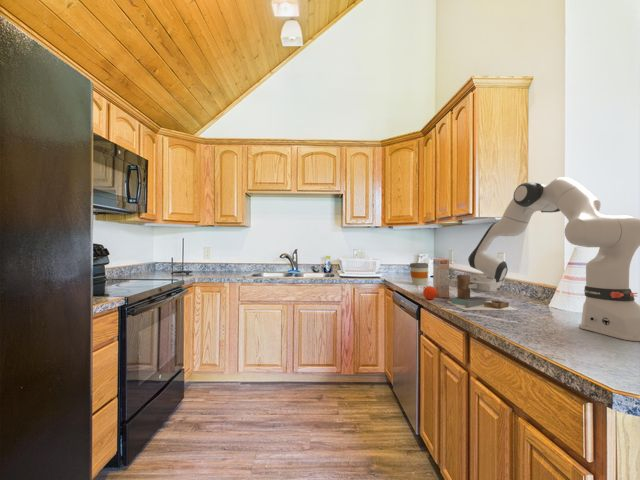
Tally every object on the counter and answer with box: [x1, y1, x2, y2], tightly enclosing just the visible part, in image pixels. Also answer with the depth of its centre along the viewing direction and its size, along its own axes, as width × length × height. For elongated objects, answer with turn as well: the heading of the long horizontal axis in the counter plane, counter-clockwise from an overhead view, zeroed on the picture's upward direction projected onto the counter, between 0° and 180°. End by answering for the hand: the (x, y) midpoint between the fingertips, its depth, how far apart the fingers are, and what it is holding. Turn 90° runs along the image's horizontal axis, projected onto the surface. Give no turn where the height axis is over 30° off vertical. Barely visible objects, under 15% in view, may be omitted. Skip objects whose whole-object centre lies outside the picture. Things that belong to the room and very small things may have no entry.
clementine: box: [422, 285, 437, 301], centre depth 168 cm, size 8×7×7 cm
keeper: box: [484, 300, 510, 309], centre depth 143 cm, size 7×8×2 cm
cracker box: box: [432, 257, 450, 299], centre depth 178 cm, size 14×6×21 cm, turn 171°
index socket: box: [451, 296, 477, 305], centre depth 151 cm, size 8×8×2 cm
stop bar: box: [456, 274, 471, 300], centre depth 151 cm, size 4×4×12 cm
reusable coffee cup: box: [409, 262, 429, 286], centre depth 228 cm, size 13×13×15 cm
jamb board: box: [446, 298, 519, 313], centre depth 146 cm, size 20×23×4 cm
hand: (462, 285), depth 150 cm, fingers open, 4 cm apart
